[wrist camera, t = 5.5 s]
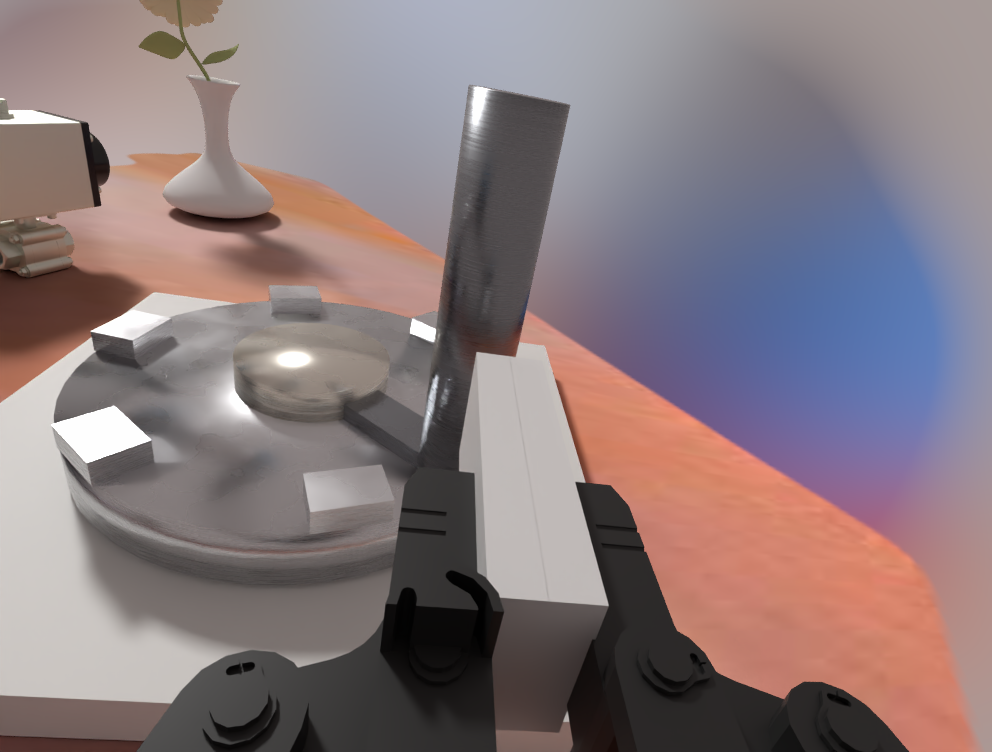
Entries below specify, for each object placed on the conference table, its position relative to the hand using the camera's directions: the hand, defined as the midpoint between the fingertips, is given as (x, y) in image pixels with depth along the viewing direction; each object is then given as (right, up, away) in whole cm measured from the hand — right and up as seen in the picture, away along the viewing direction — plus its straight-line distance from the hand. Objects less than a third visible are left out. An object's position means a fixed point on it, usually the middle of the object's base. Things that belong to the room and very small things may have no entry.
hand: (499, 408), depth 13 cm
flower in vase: (-33, +20, +51) cm, 64 cm away
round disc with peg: (-9, -2, +15) cm, 18 cm away
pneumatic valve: (-36, +9, +30) cm, 48 cm away
